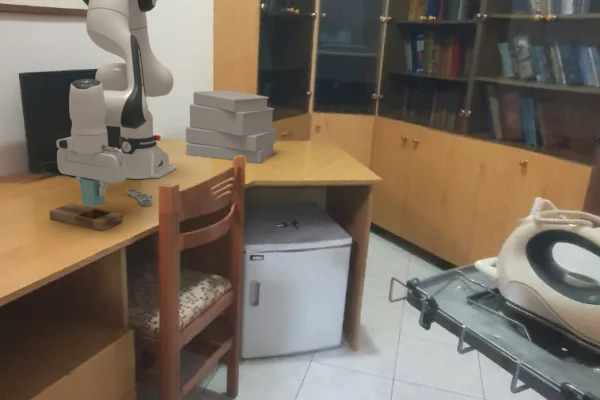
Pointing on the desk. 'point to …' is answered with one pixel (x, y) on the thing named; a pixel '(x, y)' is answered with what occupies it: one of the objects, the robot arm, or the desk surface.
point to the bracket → (143, 199)
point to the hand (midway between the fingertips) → (93, 194)
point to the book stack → (230, 126)
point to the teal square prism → (91, 192)
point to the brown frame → (86, 216)
